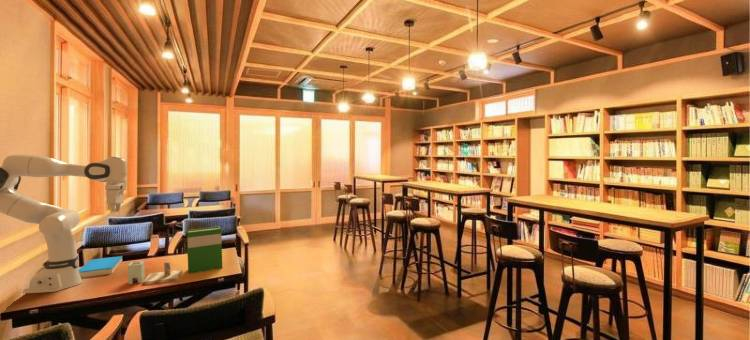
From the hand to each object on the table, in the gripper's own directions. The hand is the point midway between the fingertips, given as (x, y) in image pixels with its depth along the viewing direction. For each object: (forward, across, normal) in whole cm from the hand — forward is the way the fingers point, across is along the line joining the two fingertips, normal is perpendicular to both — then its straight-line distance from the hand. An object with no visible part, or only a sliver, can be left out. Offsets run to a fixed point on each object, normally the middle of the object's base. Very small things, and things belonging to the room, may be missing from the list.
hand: (115, 212), depth 184 cm
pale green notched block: (+38, +4, +12) cm, 39 cm away
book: (+35, -30, -12) cm, 48 cm away
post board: (+37, +5, +24) cm, 45 cm away
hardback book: (+35, -1, +45) cm, 57 cm away
